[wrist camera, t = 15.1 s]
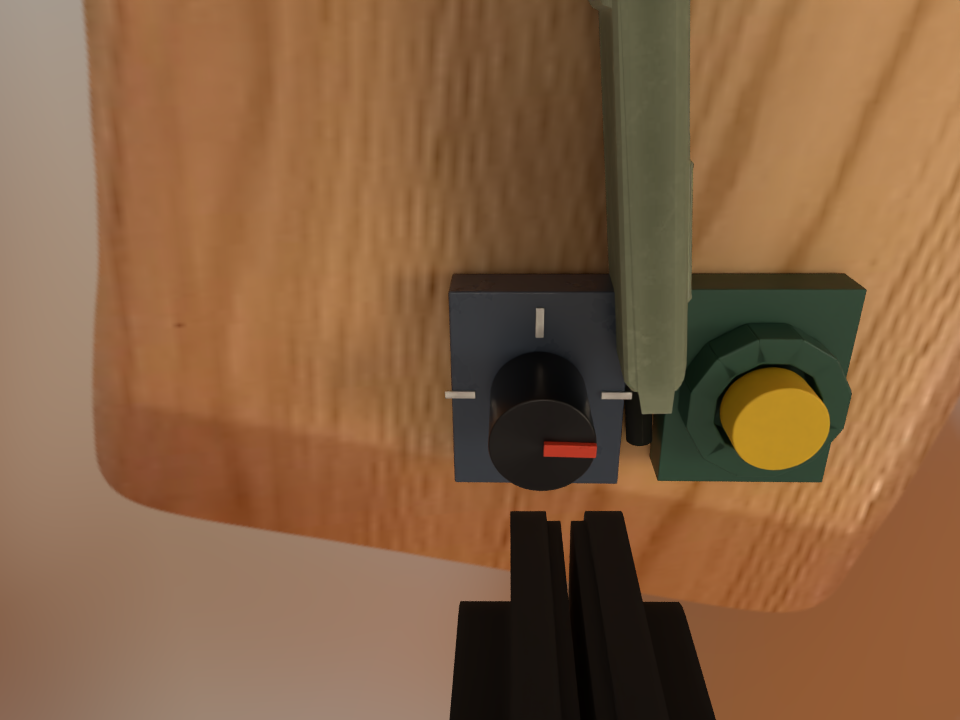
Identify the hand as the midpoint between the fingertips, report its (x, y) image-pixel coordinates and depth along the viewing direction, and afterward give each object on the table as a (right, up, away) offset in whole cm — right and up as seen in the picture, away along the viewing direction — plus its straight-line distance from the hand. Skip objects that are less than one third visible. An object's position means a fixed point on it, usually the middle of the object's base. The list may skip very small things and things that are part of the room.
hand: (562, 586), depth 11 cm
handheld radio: (+5, +11, +21) cm, 24 cm away
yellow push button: (+11, +1, +21) cm, 23 cm away
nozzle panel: (+1, +3, +24) cm, 24 cm away
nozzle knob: (+1, +2, +22) cm, 22 cm away
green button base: (+11, +3, +24) cm, 27 cm away
